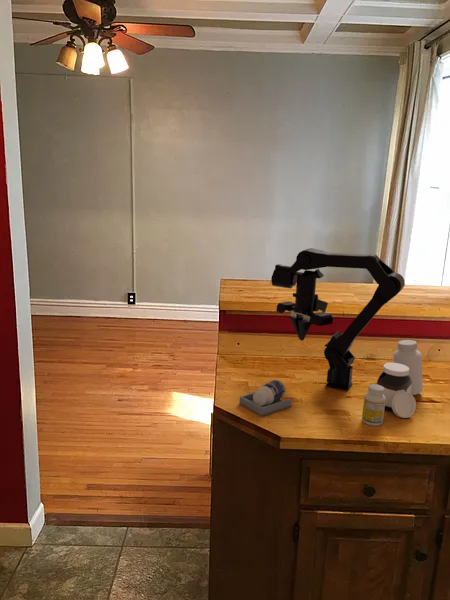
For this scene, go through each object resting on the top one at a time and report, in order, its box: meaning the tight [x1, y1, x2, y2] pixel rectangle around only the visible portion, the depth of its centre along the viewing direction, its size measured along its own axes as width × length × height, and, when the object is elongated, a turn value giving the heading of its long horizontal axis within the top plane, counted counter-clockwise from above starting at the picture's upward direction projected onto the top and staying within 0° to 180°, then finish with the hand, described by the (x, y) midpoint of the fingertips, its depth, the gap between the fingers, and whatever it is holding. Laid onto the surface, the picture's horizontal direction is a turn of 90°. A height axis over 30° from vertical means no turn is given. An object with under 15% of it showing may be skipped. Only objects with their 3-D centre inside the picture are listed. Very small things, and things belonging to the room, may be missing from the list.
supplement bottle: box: [361, 383, 386, 426], centre depth 139 cm, size 5×5×10 cm
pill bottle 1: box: [253, 379, 287, 406], centre depth 147 cm, size 5×5×10 cm
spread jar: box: [376, 362, 417, 419], centre depth 147 cm, size 12×11×12 cm
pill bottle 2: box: [392, 339, 424, 396], centre depth 158 cm, size 8×8×15 cm
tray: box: [239, 391, 293, 417], centre depth 147 cm, size 11×9×2 cm
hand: (301, 340), depth 166 cm, fingers closed
